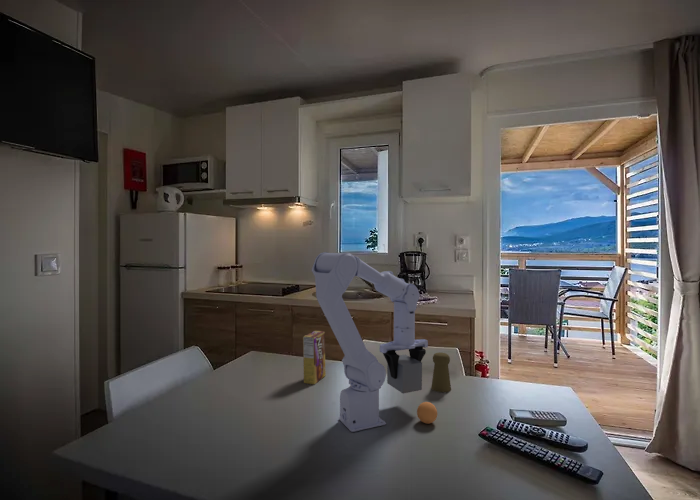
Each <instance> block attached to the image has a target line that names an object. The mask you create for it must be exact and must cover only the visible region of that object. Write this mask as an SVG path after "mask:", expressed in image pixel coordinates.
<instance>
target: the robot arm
mask: <svg viewBox="0 0 700 500" xmlns="http://www.w3.org/2000/svg"><path fill="white" fill-rule="evenodd" d="M311 272H312V275H313V276H314V281H315V283H314V285H315V296H316V299H317V300H316V301H317V302H318V304H319V307H320V308H321V310H322V312H323V314H324V316H325V319H326V321H327V322H328V324H329V327H330V328H331V330H332V333H333V334H334V336H335V339H336V340H337V342H338V344H339V346H340V349H341V351H342V352H343V354H344V355H343V357H342V359H341V362H342V364H343V369H344V371H343V372H344V375H345V378H346V379H347V380H348V384H349V386H348V387H347V388H344V389H342V390H341V391H340V393H339V394H340V395H339V417H338V420H339V421H340V422H341V423H342V424H343V425H344V426H345V427H346V428H347V429H348V431H350V432H352V433H354V432H358V431H362V430H363V431H364V430H368V429H372V428H376V427H380V426H385V425H386V424H387V423H386V421H385V420H384V419H382V418H381V417H380V389H381V388H382V386H383V385H384V383H385V381H386V378H387V372H386V370H387V369H386V368H385V365H383V364H382V363H381V362H379V360H378V358H377V357H376V356H375V355H374V354H373V353H372V352H370V351H369V350H368V349H367V347H366V346H365V343H364V341H363V339H362V337H361V334H360V332H359V330H358V328H357V326H356V324H355V322H354V320H353V318H352V315H351V313H350V311H349V309H348V307H347V304H346V303H345V301H344V298H343V294H345V293H346V291H347V289H348V288H349V286H350V284H351V283H352V281H353V279H354V277H358V278H360V279H363V280H364V281H367V282H369V283H371V284H373V287H374V290H375V291H377V292H378V293H380V294H383V296H386V297H387V298H389V299H390V301H391V302H392V303H393V341H389V342H386V343H382V344H379V352H380V353H382V354H383V356H384V358H385V360H386V363H388V366H389V370H390V374H391V377H392V378H394V379H397V367H398V360H399V357H400V356H399V355H400V354H398V353H397V351H398V352H399V351H404V350H405V351H406V350H408V352H409V356H410V357H412V358H414V359H416V360H418V361H420V362H422V360H423V358H424V357H425V355H426V354H427V353H426V352H427V350H426V349H425V348H428V347H429V343H428V342H429V340H427V339H424V338H422V339H415V337H416V336H415V335H416V334H415V333H416V332H415V331H416V330H415V329H416V325H415V324H416V316H415V315H416V314H415V313H416V310H417V306H418V302H419V300H420V296H421V295H420V293H419V292H420V291H419V289H418V287H417V286H416V285H415V284H413V283H407V282H406V281H405V279H404V278H399V277H397V276H396V275H394V272H393V271H391V270H386V271H385V270H384V271H383V270H382V271H381V272H380V271H379V270H377V269H376V268H374V267H372V266H370V265H369V264H367V263H366V262H365V261H363V260H361V259H360V257H359V256H356V255H353V254H352V253H350V252H337V253H336V252H327V251H326V252H325V251H324V252H320V253H319V254H318V255H317V256H316V257H315V259H314V263H313V265H312V267H311Z"/></svg>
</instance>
